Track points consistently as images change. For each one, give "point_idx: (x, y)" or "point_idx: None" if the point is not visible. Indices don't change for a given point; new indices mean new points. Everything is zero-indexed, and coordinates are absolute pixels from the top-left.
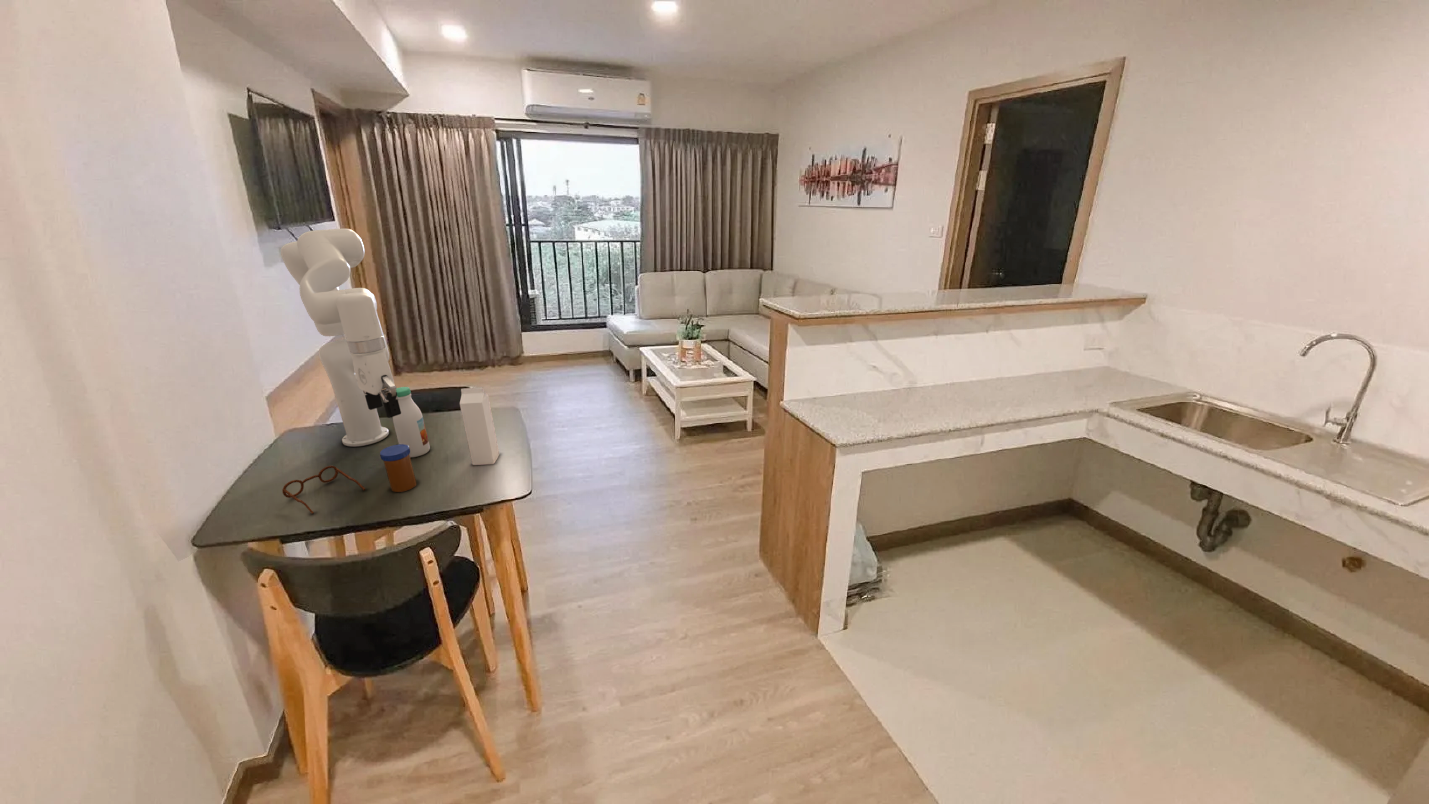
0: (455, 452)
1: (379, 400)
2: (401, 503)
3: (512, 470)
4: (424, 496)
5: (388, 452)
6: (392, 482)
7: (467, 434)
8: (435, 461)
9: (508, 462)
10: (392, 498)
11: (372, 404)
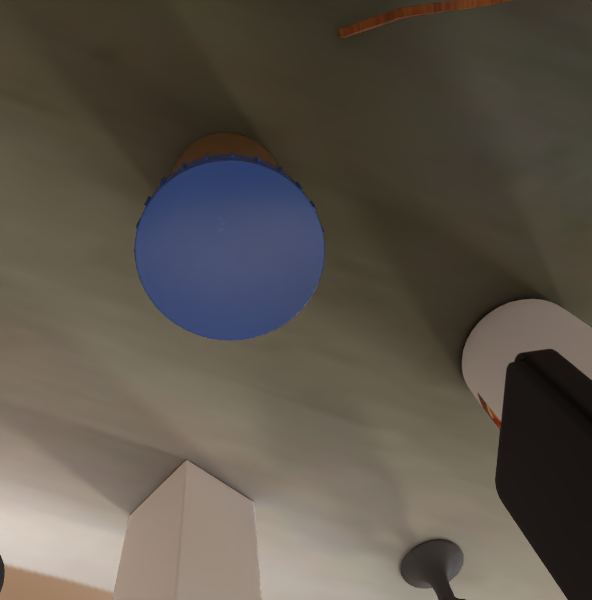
0: (365, 453)
1: (548, 546)
2: (49, 113)
3: (15, 540)
4: (43, 218)
5: (222, 212)
6: (199, 145)
7: (169, 594)
8: (355, 373)
9: (100, 552)
10: (140, 102)
11: (542, 436)
